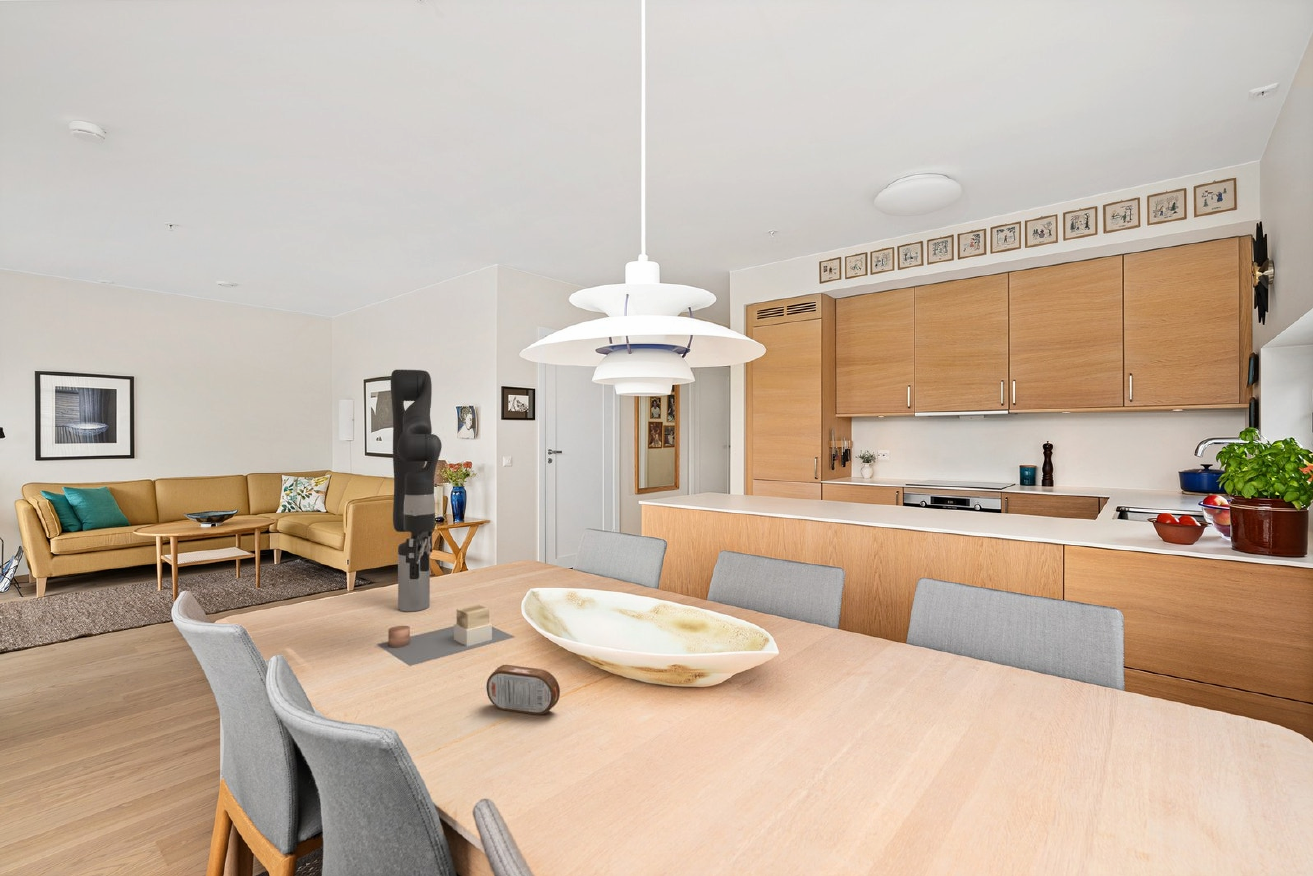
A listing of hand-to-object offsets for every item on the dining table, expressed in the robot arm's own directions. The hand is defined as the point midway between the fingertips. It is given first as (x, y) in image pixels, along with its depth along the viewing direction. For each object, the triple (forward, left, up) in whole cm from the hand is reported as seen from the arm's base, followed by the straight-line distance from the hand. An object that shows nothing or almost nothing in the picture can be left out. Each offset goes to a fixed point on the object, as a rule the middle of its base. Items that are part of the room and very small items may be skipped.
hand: (419, 575), depth 154 cm
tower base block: (+7, +11, -17) cm, 22 cm away
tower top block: (+7, +11, -13) cm, 19 cm away
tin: (+49, -1, -19) cm, 53 cm away
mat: (+3, +6, -18) cm, 20 cm away
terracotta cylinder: (-3, -4, -17) cm, 18 cm away
